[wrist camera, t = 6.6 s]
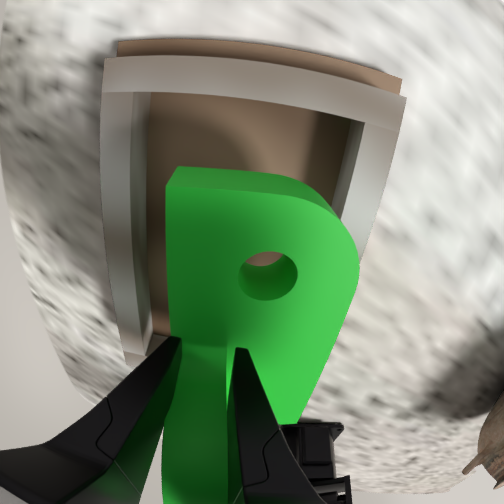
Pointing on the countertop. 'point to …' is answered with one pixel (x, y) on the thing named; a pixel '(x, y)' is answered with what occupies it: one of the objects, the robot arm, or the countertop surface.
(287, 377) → the mechanical part
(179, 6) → the countertop surface
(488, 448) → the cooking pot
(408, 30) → the countertop surface
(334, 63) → the keyed nest
